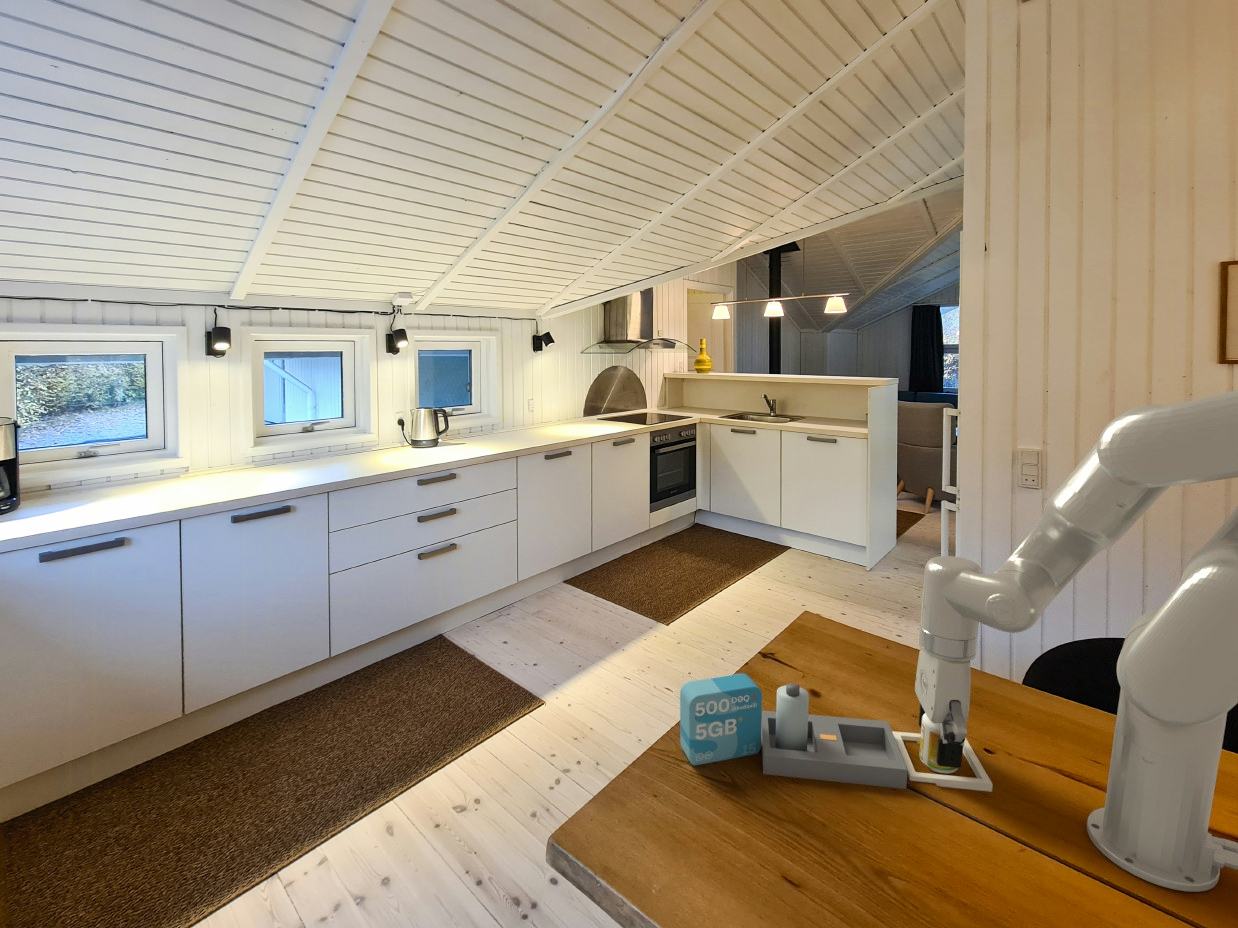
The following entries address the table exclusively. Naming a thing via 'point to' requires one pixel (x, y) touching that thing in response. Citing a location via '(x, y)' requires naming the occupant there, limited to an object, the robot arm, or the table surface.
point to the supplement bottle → (932, 744)
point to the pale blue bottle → (792, 717)
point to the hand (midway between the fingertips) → (938, 745)
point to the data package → (720, 718)
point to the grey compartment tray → (837, 752)
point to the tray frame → (945, 780)
